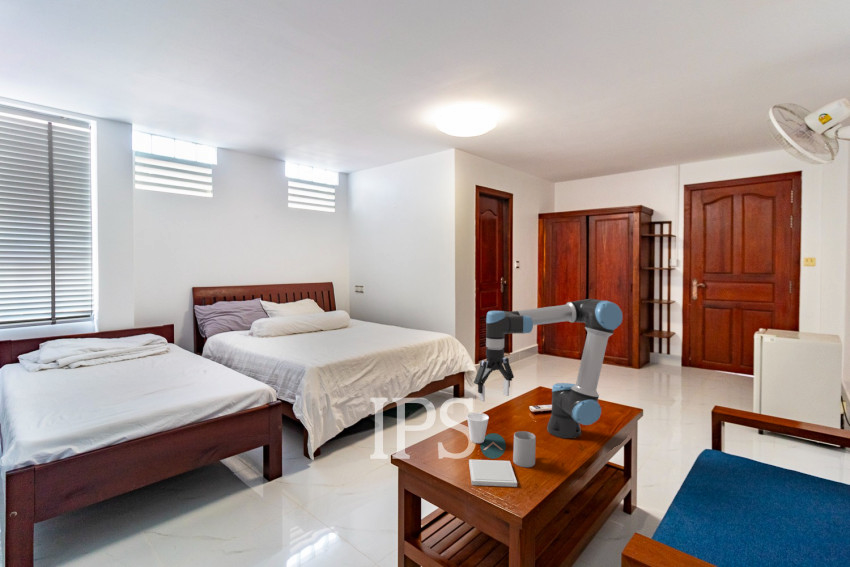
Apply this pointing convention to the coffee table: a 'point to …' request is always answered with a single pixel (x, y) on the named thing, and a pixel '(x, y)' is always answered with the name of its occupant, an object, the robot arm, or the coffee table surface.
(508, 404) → the coffee table surface
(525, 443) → the mug
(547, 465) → the coffee table surface
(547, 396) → the coffee table surface
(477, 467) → the plate
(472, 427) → the cup
